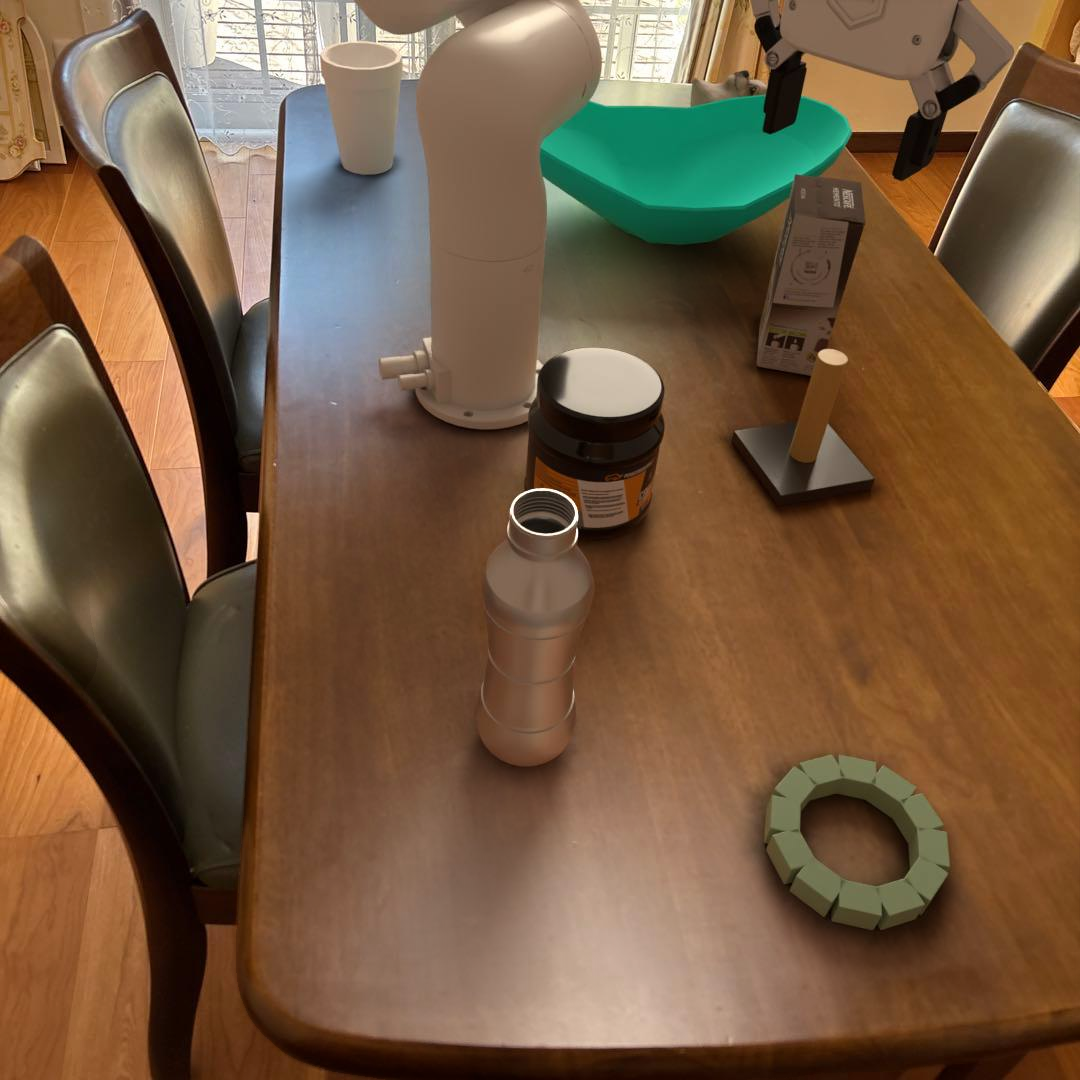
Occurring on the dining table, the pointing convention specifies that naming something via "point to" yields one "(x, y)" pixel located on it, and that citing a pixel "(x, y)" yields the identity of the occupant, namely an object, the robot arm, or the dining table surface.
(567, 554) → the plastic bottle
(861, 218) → the coffee box
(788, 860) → the ring
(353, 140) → the foam cup
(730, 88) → the ceramic sculpture
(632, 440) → the supplement container
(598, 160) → the table top decor
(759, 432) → the peg stand
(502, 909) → the dining table surface
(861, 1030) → the dining table surface
